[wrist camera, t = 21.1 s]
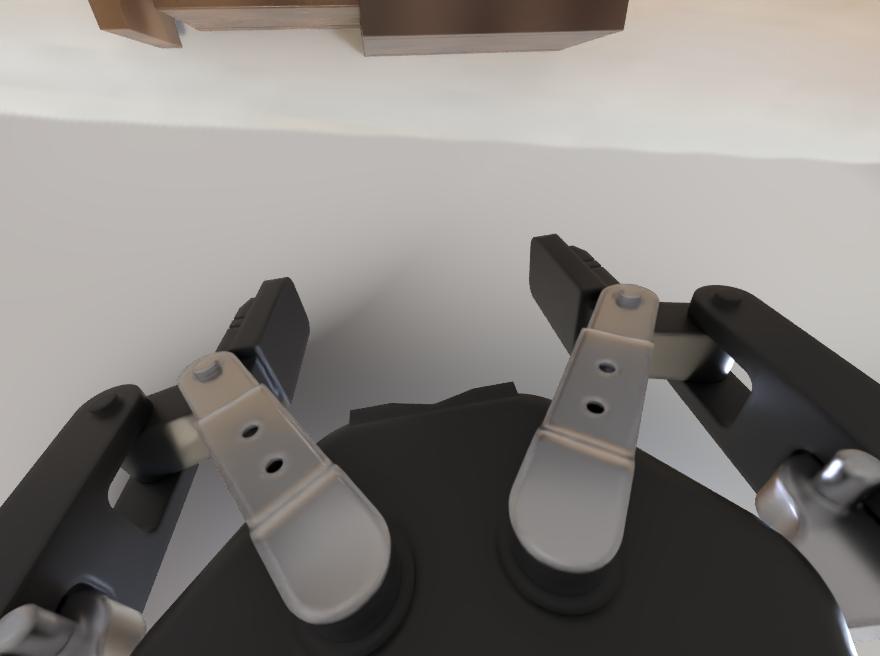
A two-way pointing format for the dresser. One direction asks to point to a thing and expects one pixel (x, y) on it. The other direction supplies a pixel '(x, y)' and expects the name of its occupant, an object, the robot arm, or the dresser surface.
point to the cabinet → (484, 25)
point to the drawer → (219, 16)
